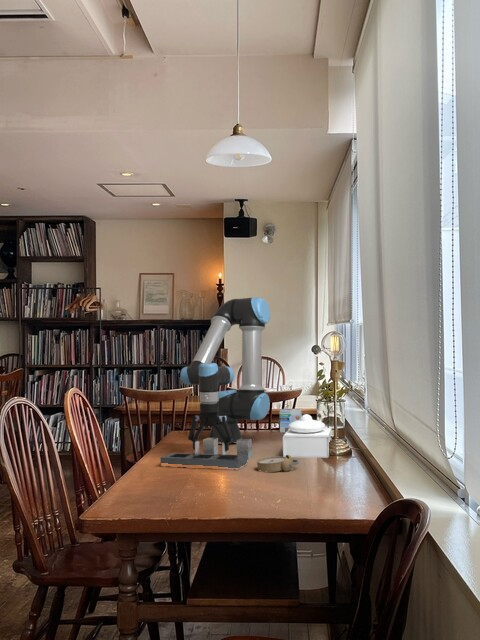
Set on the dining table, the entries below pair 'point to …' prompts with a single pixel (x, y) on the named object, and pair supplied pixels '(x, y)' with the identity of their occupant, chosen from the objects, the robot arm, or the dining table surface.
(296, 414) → the light bulb box
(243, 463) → the grey metal flat frame
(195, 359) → the robot arm
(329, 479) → the dining table surface
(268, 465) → the alarm clock
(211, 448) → the grey rectangular block
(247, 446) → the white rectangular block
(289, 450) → the white box with dome
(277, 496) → the dining table surface
